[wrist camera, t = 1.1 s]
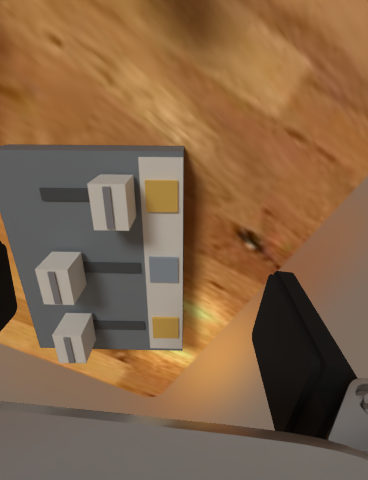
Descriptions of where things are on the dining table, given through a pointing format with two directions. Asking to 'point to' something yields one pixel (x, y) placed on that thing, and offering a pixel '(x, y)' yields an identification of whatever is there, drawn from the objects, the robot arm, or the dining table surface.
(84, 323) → the slider
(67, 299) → the slider
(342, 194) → the dining table surface
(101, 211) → the slider
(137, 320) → the console
